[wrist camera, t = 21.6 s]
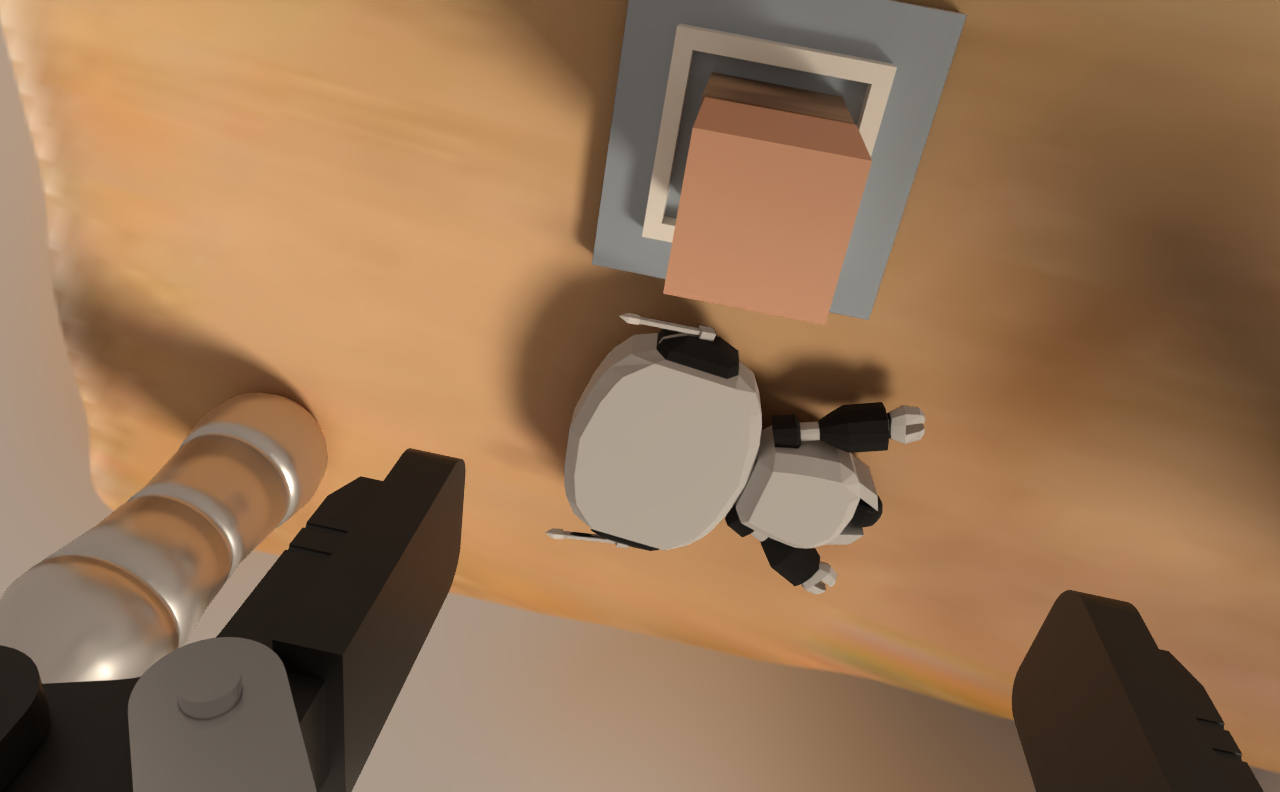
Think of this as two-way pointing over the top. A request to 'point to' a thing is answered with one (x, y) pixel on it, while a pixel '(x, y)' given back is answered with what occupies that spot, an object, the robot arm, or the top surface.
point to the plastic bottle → (166, 545)
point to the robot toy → (718, 456)
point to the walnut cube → (777, 97)
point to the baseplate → (785, 55)
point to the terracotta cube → (766, 210)
